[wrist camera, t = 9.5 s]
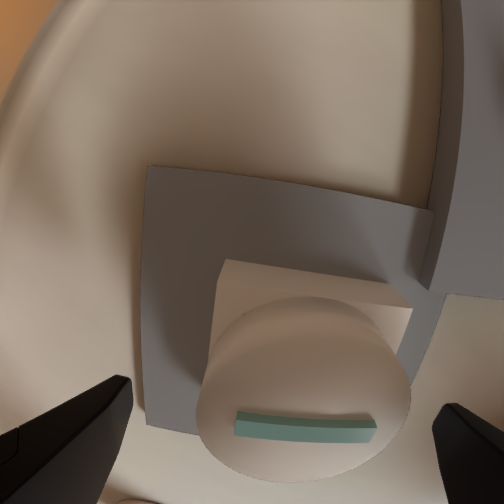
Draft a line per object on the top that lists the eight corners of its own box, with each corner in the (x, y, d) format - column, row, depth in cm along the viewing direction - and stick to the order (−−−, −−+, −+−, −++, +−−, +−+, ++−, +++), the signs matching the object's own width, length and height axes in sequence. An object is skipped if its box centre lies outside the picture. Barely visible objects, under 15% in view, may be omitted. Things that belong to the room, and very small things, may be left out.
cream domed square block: (390, 283, 10) (449, 349, 6) (345, 407, 12) (367, 488, 8) (225, 258, 10) (201, 323, 6) (208, 393, 12) (190, 478, 8)
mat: (376, 437, 13) (378, 445, 13) (149, 416, 13) (146, 424, 13) (458, 217, 10) (466, 219, 10) (153, 165, 10) (147, 166, 10)
